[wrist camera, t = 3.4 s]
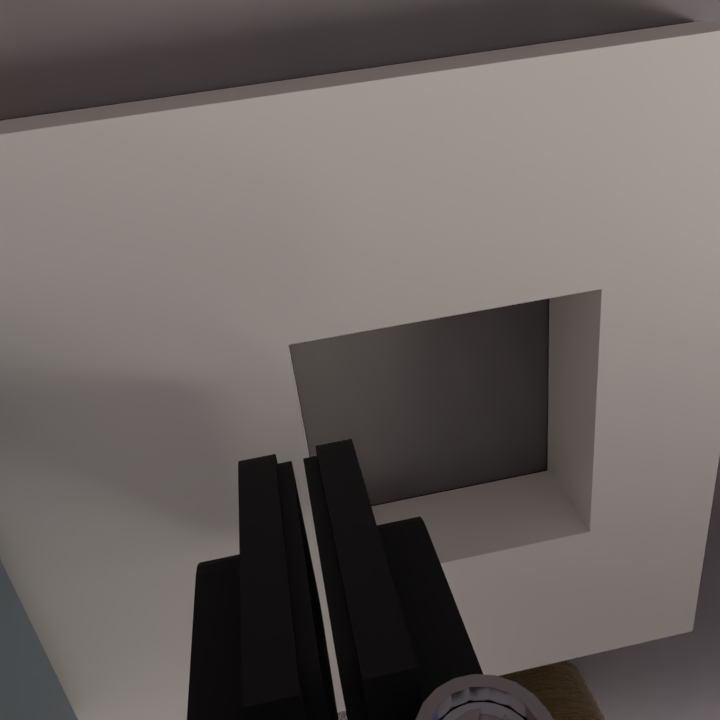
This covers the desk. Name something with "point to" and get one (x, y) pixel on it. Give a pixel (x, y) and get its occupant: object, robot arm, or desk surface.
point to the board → (357, 314)
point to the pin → (559, 691)
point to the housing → (26, 666)
